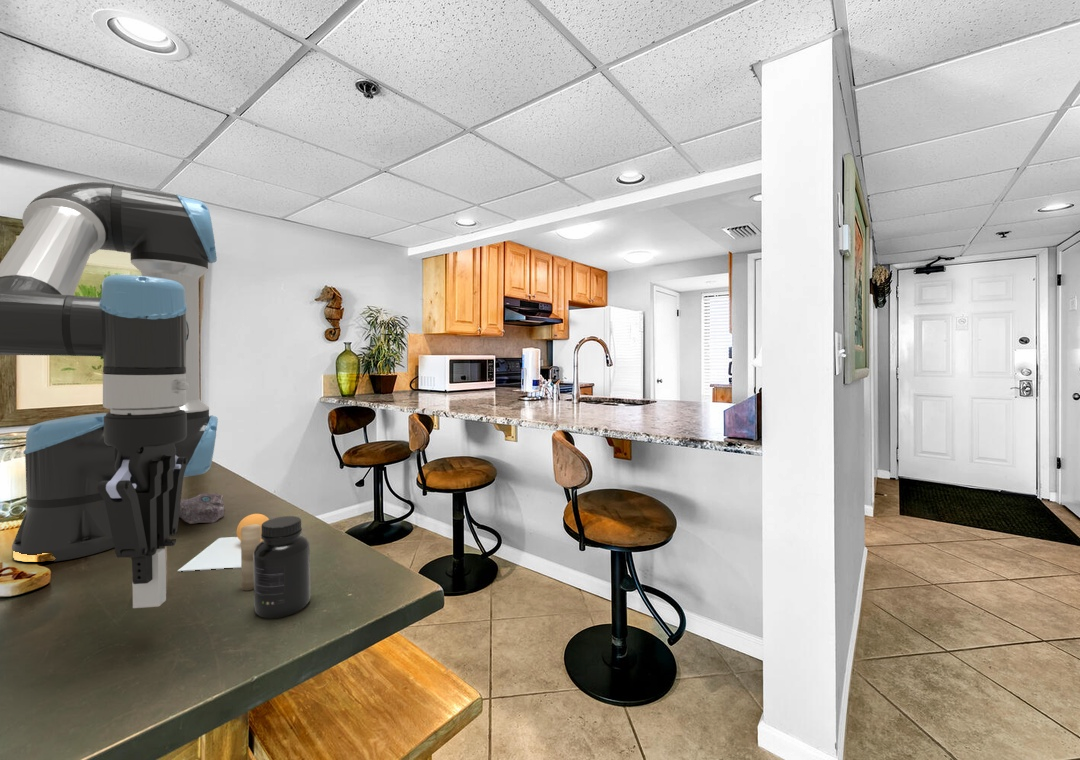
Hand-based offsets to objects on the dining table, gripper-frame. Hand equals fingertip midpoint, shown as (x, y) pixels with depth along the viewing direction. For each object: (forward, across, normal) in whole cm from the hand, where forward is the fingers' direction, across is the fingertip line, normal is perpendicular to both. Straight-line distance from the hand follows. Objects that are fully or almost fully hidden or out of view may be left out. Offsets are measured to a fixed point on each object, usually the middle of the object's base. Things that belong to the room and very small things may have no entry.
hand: (149, 603), depth 56 cm
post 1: (+5, +12, +6) cm, 15 cm away
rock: (+6, +48, +16) cm, 51 cm away
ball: (+2, +30, 0) cm, 30 cm away
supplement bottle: (+5, +6, -13) cm, 15 cm away
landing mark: (+5, +26, 0) cm, 27 cm away
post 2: (+5, +12, -6) cm, 15 cm away
